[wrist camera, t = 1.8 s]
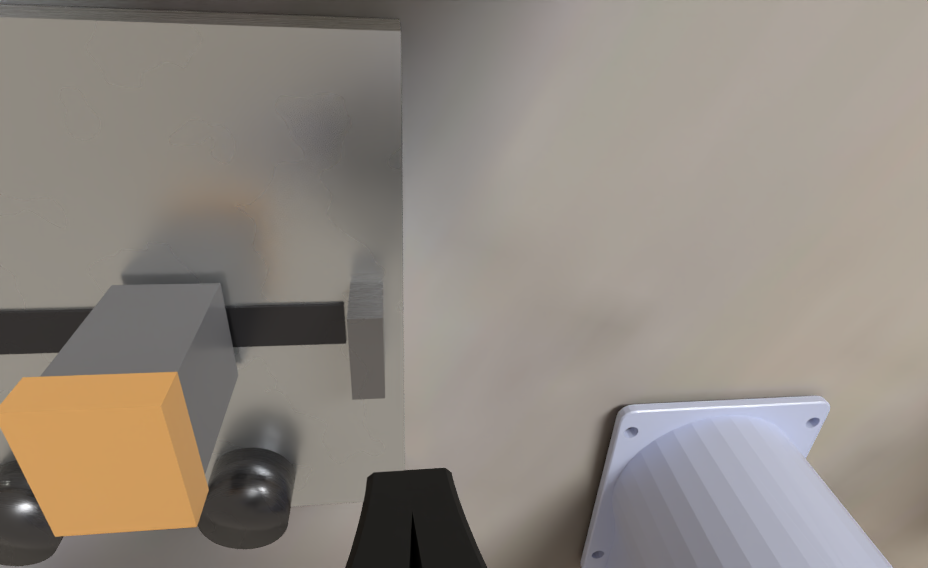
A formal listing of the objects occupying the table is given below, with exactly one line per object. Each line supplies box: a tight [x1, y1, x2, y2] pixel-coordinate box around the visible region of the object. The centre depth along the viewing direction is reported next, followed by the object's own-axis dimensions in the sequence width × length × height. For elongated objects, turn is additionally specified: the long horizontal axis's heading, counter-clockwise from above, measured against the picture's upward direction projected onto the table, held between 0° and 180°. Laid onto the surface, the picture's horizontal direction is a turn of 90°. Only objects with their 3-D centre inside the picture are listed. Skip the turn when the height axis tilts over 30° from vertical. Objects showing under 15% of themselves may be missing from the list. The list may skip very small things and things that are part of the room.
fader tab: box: [0, 283, 238, 537], centre depth 12 cm, size 3×3×4 cm
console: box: [0, 4, 405, 566], centre depth 14 cm, size 14×17×4 cm
